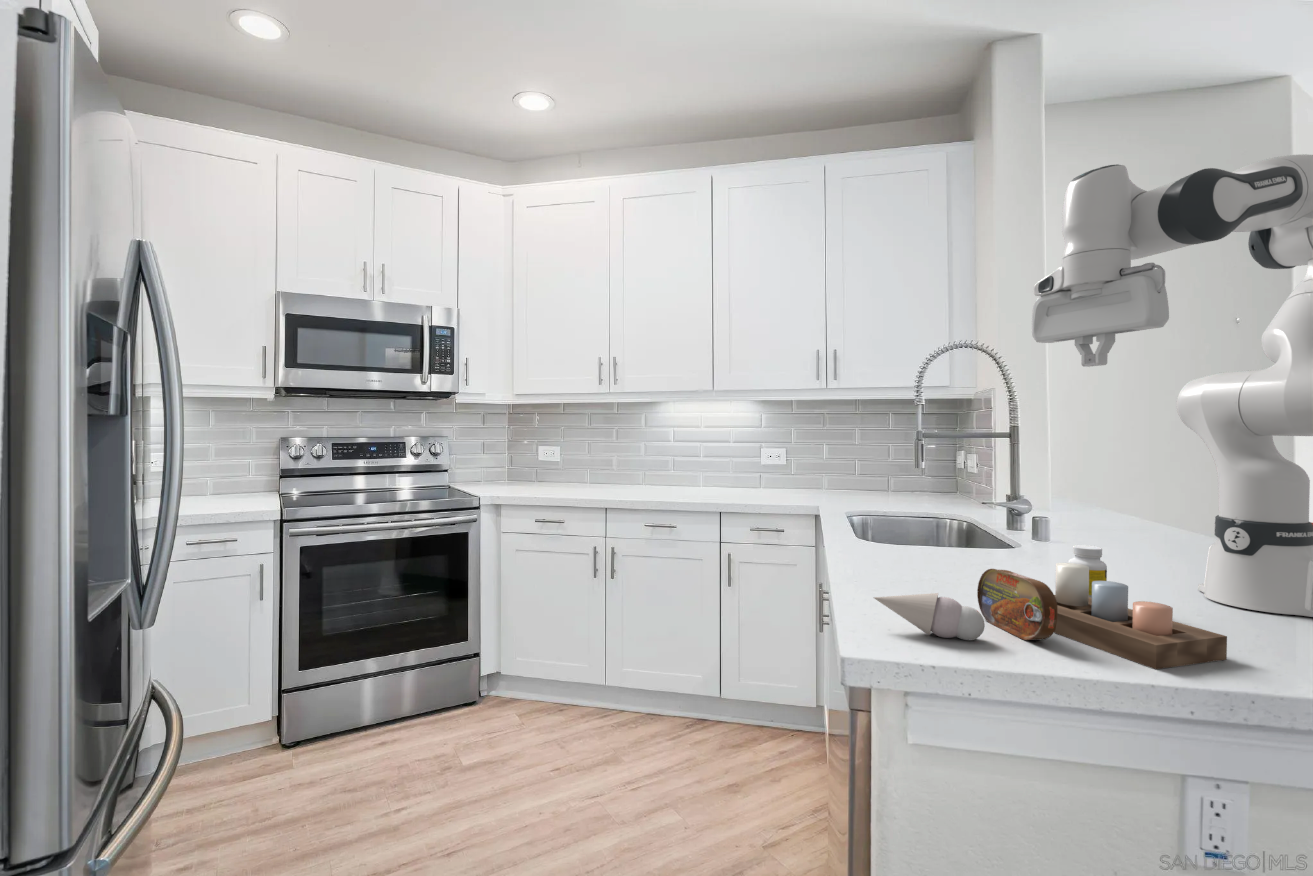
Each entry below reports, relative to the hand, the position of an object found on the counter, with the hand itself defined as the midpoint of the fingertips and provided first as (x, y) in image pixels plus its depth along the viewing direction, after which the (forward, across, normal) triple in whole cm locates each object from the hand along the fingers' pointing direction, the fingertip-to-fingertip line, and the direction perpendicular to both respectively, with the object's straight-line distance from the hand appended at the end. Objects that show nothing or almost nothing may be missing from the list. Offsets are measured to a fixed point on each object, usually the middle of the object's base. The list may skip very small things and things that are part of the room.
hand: (1094, 365), depth 100 cm
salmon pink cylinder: (+38, -14, +6) cm, 41 cm away
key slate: (+37, -8, +6) cm, 38 cm away
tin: (+39, -2, +17) cm, 43 cm away
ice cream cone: (+39, 0, +30) cm, 49 cm away
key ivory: (+36, -2, +6) cm, 36 cm away
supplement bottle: (+39, +5, -5) cm, 40 cm away
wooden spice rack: (+39, -8, +6) cm, 40 cm away
